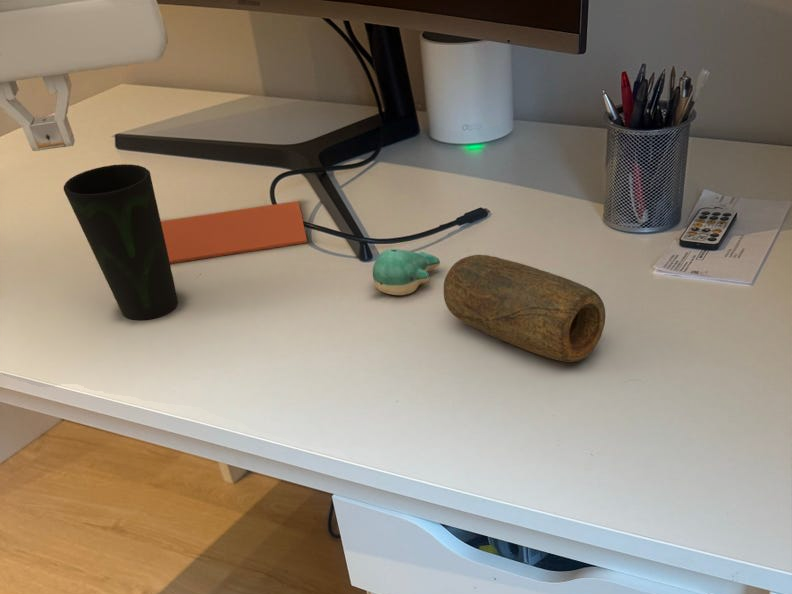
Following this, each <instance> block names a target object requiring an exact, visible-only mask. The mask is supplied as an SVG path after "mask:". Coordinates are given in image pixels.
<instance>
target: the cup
mask: <svg viewBox="0 0 792 594" xmlns="http://www.w3.org/2000/svg"><path fill="white" fill-rule="evenodd" d="M62 188H63V192H64V194H65V196H66V198H67V200H68V203H69V205H70V207H71V209H72V211H73V213H74V215H75V217H76V220H77V221H78V223H79V226H80V227H81V230H82V232H83V234H84V236H85V239H86V240H87V243H88V244H89V248H91V251H92V254H93V255H94V258H95V259H96V261H97V264H98V266H99V269H100V270H101V272H102V274H103V277H104V278H105V281H106V283H107V285H108V287H109V289H110V291H111V294H112V296H113V297H114V300H115V302H116V304H117V305H118V308H119V311H120V313H121V314H122V316H123V317H125V318H126V319H128V320H132V321H149V320H154V319H158V318H161V317H163V316H166V315H168V314H169V313H171V312H173V311H174V310H176V309H177V307H178V306H179V299H178V294H177V288H176V285H175V280H174V275H173V272H172V266H171V264H170V261H169V257H168V252H167V248H166V243H165V239H164V234H163V230H162V225H161V221H162V220H161V217H160V216H161V215H160V212H159V207H158V203H157V198H156V194H155V190H154V185H153V180H152V174H151V172H150V170H149V169H148V168H146V167H145V166H142V165H138V164H131V163H130V164H127V163H126V164H125V163H123V164H112V165H105V166H99V167H95V168H92V169H89V170H85V171H82V172H80V173H78V174H76V175H74V176H72V177H71V178H69V179H67V181H66V182H65V183H64V185H63V187H62Z"/></svg>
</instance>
